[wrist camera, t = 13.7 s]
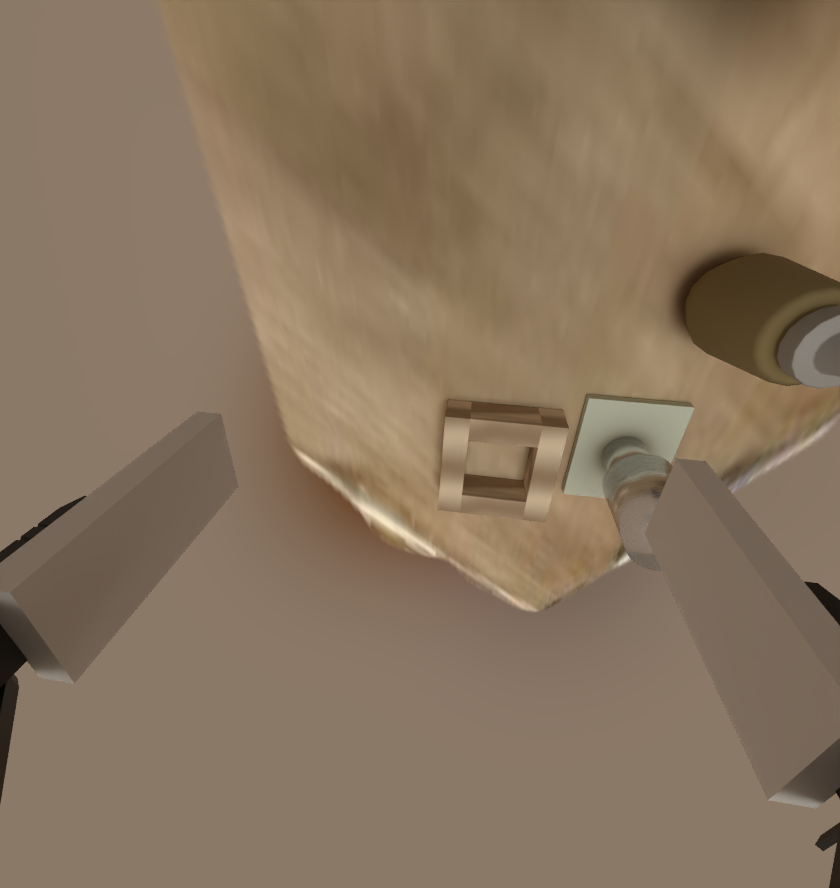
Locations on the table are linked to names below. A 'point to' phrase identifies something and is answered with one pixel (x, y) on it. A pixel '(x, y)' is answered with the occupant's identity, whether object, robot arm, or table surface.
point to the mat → (621, 435)
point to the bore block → (510, 428)
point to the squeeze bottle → (769, 320)
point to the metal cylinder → (634, 493)
